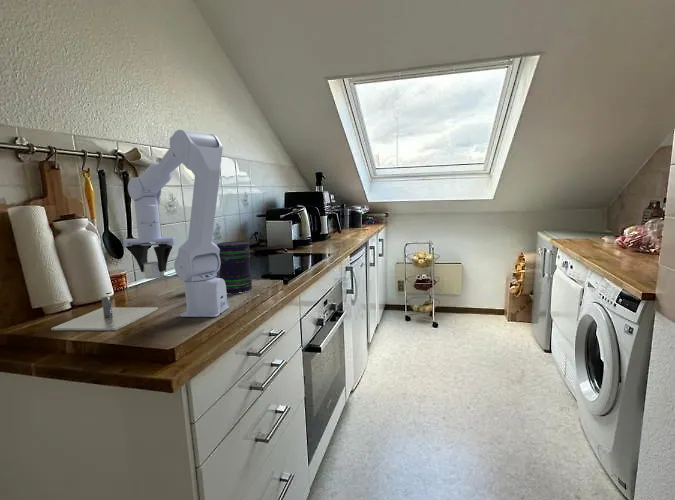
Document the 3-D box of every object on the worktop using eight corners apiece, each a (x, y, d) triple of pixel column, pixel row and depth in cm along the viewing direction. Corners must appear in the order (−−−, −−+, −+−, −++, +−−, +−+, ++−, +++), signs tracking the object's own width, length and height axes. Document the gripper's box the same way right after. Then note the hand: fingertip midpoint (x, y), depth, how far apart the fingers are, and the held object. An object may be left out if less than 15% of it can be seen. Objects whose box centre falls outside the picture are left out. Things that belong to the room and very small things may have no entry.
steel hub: (167, 274, 106) (165, 261, 106) (157, 278, 101) (155, 264, 101) (151, 275, 107) (149, 261, 106) (140, 278, 102) (139, 264, 101)
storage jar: (228, 286, 122) (225, 241, 120) (257, 286, 121) (254, 240, 119) (214, 294, 113) (210, 245, 111) (245, 294, 111) (241, 244, 109)
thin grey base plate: (157, 309, 99) (155, 289, 98) (115, 330, 83) (112, 306, 82) (102, 309, 101) (100, 289, 100) (51, 330, 85) (47, 307, 84)
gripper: (180, 220, 105) (185, 268, 107) (133, 222, 107) (138, 268, 109) (166, 222, 98) (172, 272, 100) (116, 224, 100) (122, 273, 102)
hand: (153, 271), depth 104 cm, fingers closed on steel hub, 5 cm apart
